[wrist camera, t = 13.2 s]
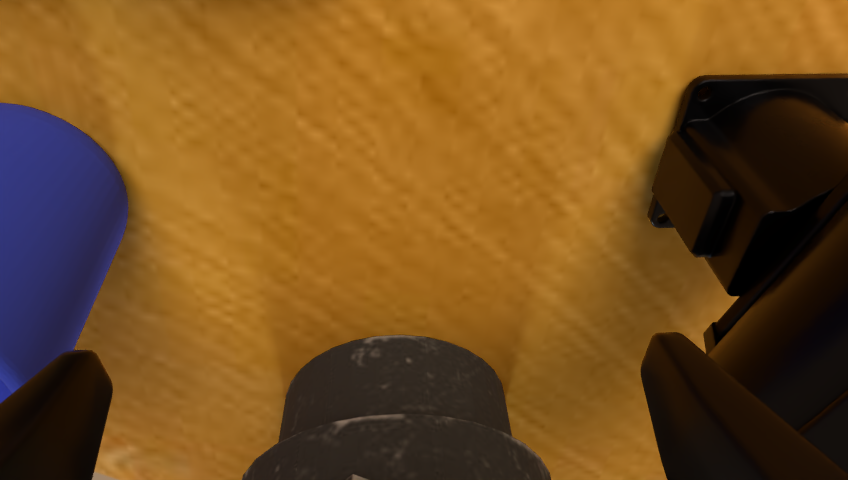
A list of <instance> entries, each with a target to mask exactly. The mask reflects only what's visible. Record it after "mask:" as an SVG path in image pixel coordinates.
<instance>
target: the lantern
mask: <svg viewBox="0 0 848 480" xmlns="http://www.w3.org/2000/svg"><path fill="white" fill-rule="evenodd" d="M242 480H551V477H550V473H549V471H548V469H547V468H546V466H545V464H544V463H543V461H542V460H541V458H540V457H539V456H538V455H537V454H536V453H535V452H533V451H532V450H531V449H530V448H529V447H528V446H527V445H526V444H524V443H523V442H521V441H519V440H517V439H515V438H513V437H512V434H511V429H510V423H509V418H508V412H507V407H506V402H505V396H504V392H503V387H502V383H501V381H500V380H499V378H498V376H497V375H496V373H495V371H494V370H493V369H492V368H491V367H490V366H489V365H488V364H487V363H486V362H485V361H484V360H483V359H481V358H480V357H478V356H476V355H475V354H473V353H472V352H470V351H468V350H467V349H464V348H462V347H459V346H457V345H454V344H451V343H449V342H446V341H441V340H437V339H432V338H428V337H420V336H407V335H392V336H376V337H371V338H365V339H360V340H355V341H351V342H349V343H346V344H343V345H340V346H337V347H334V348H332V349H330V350H328V351H326V352H324V353H322V354H321V355H319V356H317V357H315V358H314V359H312V360H311V361H310V362H309V363H308V364H306V365H305V366H304V367H303V368H302V369H301V370H300V371H299V372H298V374H297V375H296V376H295V377H294V379H293V380H292V381H291V384H290V387H289V389H288V392H287V395H286V400H285V406H284V412H283V418H282V424H281V430H280V436H279V442H278V443H277V444H275V445H274V446H273V447H271V448H270V449H269V450H267V451H266V452H265V453H263V454H262V455H261V456H259V457H258V458H257V459H256V460H255V461H254V462H253V464H252V465H251V466H250V467H249V469H248V470H247V471H246V472H245V474H244V475H243V478H242Z"/></svg>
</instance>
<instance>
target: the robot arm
mask: <svg viewBox="0 0 848 480" xmlns="http://www.w3.org/2000/svg"><path fill="white" fill-rule="evenodd" d="M704 87H708V89H707V90H706V92H705V93H704V94H702V95H698V93H699V91H700V90H701V89H702V88H704ZM652 192H653V194H654V195H653V199H652V202H651V205H650V208H649V211H648V218H649V220H650V222H651V223H652V225H653V226H655V227H657V228H675V229H676V230H677V232H678V233H679V235H680V237H681V238H682V240H683V241H684V243H685V245H686V246H687V248H688V249H689V251H690V252H691V253H692V254H693V255H694V256H695V257H696V258H697V257H704V258H705V260H706V261H707V263H708V264H709V266H710V267H711V269H712V270H713V272H714V273H715V275H716V276H717V278H718V280H719V281H720V283H721V284H722V286H723V287H724V289H725V290H726V292H727V293H728V294H729V295H730V296H740V297H739V298H738V299H737V300H736V301H735V302H734V303H733V305H732V306H731V307H730V308H729V309H728V310H727V311H726V313H725V314H724V315H723V316H722V317H721V318H720V319H719V321H718V322H713V323H712V324H711V325H710V326H709V327H708V328H707V330H706V331H705V332H704V334H703V335H704V342H705V348H706V354H705V353H704V352H703V351H702V350H701V349H700V348H698V347H697V346H696V345H695V344H694V343H692V342H691V341H690V340H689V339H688V338H686V337H685V336H684V335H682V334H680V333H677V332H669V333H656V334H655V335H653V336H652V338H651V340H650V343H649V346H648V348H647V351H646V353H645V356H644V359H643V361H642V365H641V378H642V383H643V387H644V391H645V395H646V399H647V404H648V408H649V412H650V416H651V420H652V424H653V429H654V433H655V437H656V441H657V445H658V449H659V453H660V457H661V461H662V464H663V467H664V471H665V474H666V477H667V480H848V74H773V75H704V76H699V77H697V78H696V79H694V80H693V81H692V82H691V83H690V84H689V86H688V88H687V90H686V93H685V96H684V99H683V103H682V106H681V109H680V112H679V115H678V119H677V122H676V125H675V128H674V131H673V132H672V133H671V135H670V136H669V137H668V138H667V142H666V145H665V148H664V151H663V155H662V158H661V161H660V164H659V168H658V171H657V174H656V177H655V181H654V184H653V187H652ZM664 213H665V215H663V216H662V217H659V218H658V216H659V215H661V214H664ZM112 393H113V386H112V382H111V379H110V378H109V376H108V374H107V372H106V370H105V368H104V366H103V365H102V363H101V361H100V359H99V357H98V355H97V354H96V353H95V352H93V351H92V350H72V351H66V352H64V353H62V354H60V355H59V356H58V357H56V358H55V359H54V360H53V361H51V362H50V363H49V364H48V365H47V366H45V367H44V368H43V369H42V370H40V371H39V372H38V373H37V374H35V375H34V376H33V377H32V378H31V379H29V380H28V381H27V382H26V383H24V384H23V385H22V386H21V387H20V388H18V389H17V390H16V391H15V392H13V393H12V394H11V395H10V396H9V397H7V398H6V399H5V400H4V401H2V402H1V403H0V480H92V477H93V473H94V469H95V465H96V461H97V457H98V453H99V449H100V444H101V440H102V436H103V432H104V428H105V424H106V420H107V415H108V411H109V407H110V403H111V399H112Z"/></svg>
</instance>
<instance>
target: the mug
mask: <svg viewBox="0 0 848 480" xmlns="http://www.w3.org/2000/svg"><path fill="white" fill-rule="evenodd" d="M127 218H128V198H127V192H126V188H125V185H124V182H123V180H122V177H121V175H120V173H119V171H118V169H117V168H116V166H115V164H114V163H113V161H112V160H111V159H110V157H109V156H108V155H107V154H106V152H105V151H104V150H103V149H102V148H101V147H100V146H99V145H98V144H97V143H96V142H95V141H94V140H92V139H91V138H90V137H89V136H88V135H86V134H85V133H84V132H82V131H81V130H79V129H78V128H76V127H75V126H73V125H71V124H70V123H68V122H66V121H65V120H62V119H60V118H58V117H56V116H54V115H51V114H49V113H47V112H44V111H41V110H38V109H35V108H31V107H27V106H23V105H17V104H8V103H0V403H1V402H2V401H4V400H5V399H6V398H7V397H9V396H10V395H11V394H12V393H13V392H15V391H16V390H17V389H18V388H20V387H21V386H22V385H23V384H24V383H26V382H27V381H28V380H29V379H31V378H32V377H33V376H34V375H35V374H37V373H38V372H39V371H40V370H42V369H43V368H44V367H45V366H47V365H48V364H49V363H50V362H51V361H53V360H54V359H55V358H56V357H58V356H59V355H60V354H62V353H64V352H66V351H72V350H73V349H74V347H75V345H76V343H77V340H78V338H79V336H80V333H81V331H82V329H83V327H84V324H85V322H86V320H87V317H88V315H89V313H90V311H91V308H92V306H93V304H94V301H95V299H96V297H97V295H98V292H99V290H100V288H101V285H102V283H103V281H104V279H105V276H106V274H107V272H108V269H109V267H110V265H111V262H112V260H113V258H114V256H115V253H116V251H117V249H118V246H119V244H120V242H121V240H122V237H123V234H124V231H125V228H126V224H127Z"/></svg>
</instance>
